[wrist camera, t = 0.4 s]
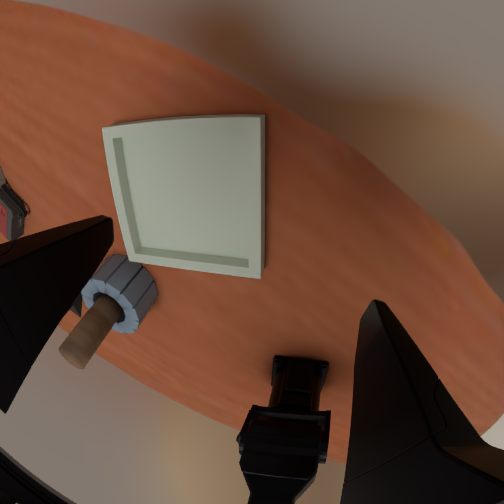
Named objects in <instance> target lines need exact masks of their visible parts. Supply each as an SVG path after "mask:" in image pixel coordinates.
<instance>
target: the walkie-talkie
mask: <svg viewBox="0 0 504 504" xmlns="http://www.w3.org/2000/svg"><path fill="white" fill-rule="evenodd" d="M26 215H27V212H26V208H25V205H24V203H23V202H22V201H21V200H20V199H19V198H18V197H17V195H15V193H13V191H11V189H9V187H7V185H6V179H5V177H4V174H3V171H2V169H1V167H0V231H1V232H2V234H3V235H4V236H5V237H6V238H7V239H8V240H9V241H12V240H15V239H18V238H19V237H20V236H21V235H23V234H24V220H25V217H26Z"/></svg>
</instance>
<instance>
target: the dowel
mask: <svg viewBox="0 0 504 504" xmlns="http://www.w3.org/2000/svg"><path fill="white" fill-rule="evenodd" d="M123 312H124V310H123V308H122V307H121V306H120V304H119V303H118V302H117V301H116V300H115V299H114V298H112V297H111V296H109V295H108V294H106V293H102V294H101V296H100V297H99V298H98V299H97V300H96V302H95V303H94V304H93V305H92V307H91V308H90V309H89V310H88V311H87V313H86V314H85V315H84V316H83V318H82V319H81V320H80V321H79V323H78V324H77V325H76V326H75V328H74V329H73V330H72V332H71V333H70V334H69V336H68V337H67V338H66V339H65V341H64V342H63V343H62V345H61V346H60V347H59V351H60V353H61V354H62V356H63V357H64V358H65V359H66V360H67V361H68V362H69V363H70V364H72V365H73V366H75V367H76V368H79V369H84V368H85V366H86V364H87V363H88V362H89V360H90V359H91V357H92V356H93V354H94V353H95V351H96V350H97V348H98V347H99V345H100V344H101V343H102V341H103V340H104V338H105V337H106V335H107V334H108V333H109V331H110V330H111V328H112V327H113V325H114V324H115V323H116V321H117V320H118V319H119V317H120V316H121V314H122V313H123Z"/></svg>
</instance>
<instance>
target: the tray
mask: <svg viewBox="0 0 504 504" xmlns="http://www.w3.org/2000/svg"><path fill="white" fill-rule="evenodd" d="M102 132H103V139H104V146H105V153H106V159H107V165H108V170H109V176H110V181H111V186H112V191H113V196H114V201H115V206H116V210H117V215H118V219H119V223H120V228H121V232H122V236H123V240H124V244H125V247H126V251H127V255H128V259H129V261H132V262H139V263H146V264H152V265H159V266H166V267H173V268H180V269H188V270H195V271H202V272H210V273H217V274H225V275H233V276H241V277H249V278H257V279H261V277H262V273H263V270H264V267H265V114H222V115H196V116H180V117H167V118H157V119H147V120H138V121H130V122H123V123H116V124H112V125H109V126H107V127H104V128H102Z"/></svg>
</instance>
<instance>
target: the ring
mask: <svg viewBox="0 0 504 504" xmlns="http://www.w3.org/2000/svg"><path fill="white" fill-rule="evenodd" d="M141 267H142V265H141V264H140V263H138V262H132V261H129V259H128V257H127V256H124V255H117V254H115V255H112V256H110V257H109V258H107V259H105V260H104V261H103V262H102V263H101V265H100V266H99V267H98V268H97V270H96V271H95V273H94V274H93V276H92V277H91V279H90V280H89V282H88V283H87V284H86V286H85V287H84V288H83V290H82V291H81V294H82V297H83V300H84V302H85V304H86V306H87V307H89V308H88V309H90V308H91V307H92V305H93V304H94V303H95V302H96V300H97V299H98V298H99V297H100V296H101V294H102V293H106V294H108V295H109V296H111V297H112V298H114V299H115V300H116V301H117V302H118V303H119V304H120V306H121V307H122V308H123V310H124V312H123V313H122V314H121V316H120V317H119V319H118V320H117V321H116V323H115V324H114V325H113V327H112V328H111V329H113V330H114V331H117V332H121V333H124V334H125V333H126V334H128V333H132V332H135V331H137V329H138V327H139V326H140V324H141V323H142V321H143V320H144V318H145V317H146V315H147V314H148V312H149V311H150V309H151V308H152V306H153V305H154V303H155V301H156V298H157V296H158V295H157V294H158V291H157V288H156V284H155V281H153V280H154V279H153V278H152V276H151V275H150V274H149V272H148V271H147V270H146V269H145V267H143V268H141Z"/></svg>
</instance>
